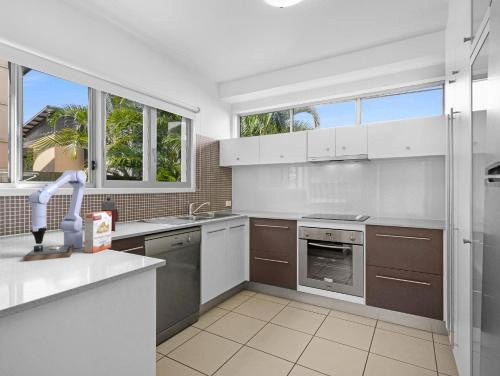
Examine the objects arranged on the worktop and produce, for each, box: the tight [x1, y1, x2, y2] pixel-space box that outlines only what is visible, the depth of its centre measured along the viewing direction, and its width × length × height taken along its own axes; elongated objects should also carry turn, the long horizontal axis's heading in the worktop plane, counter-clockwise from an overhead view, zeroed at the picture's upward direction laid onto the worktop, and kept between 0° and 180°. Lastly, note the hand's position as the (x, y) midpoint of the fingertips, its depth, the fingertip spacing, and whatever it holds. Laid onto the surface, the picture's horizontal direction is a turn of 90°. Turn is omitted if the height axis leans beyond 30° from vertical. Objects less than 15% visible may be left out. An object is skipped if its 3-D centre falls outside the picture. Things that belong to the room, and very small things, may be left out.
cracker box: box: [83, 210, 112, 254], centre depth 151 cm, size 14×6×21 cm, turn 168°
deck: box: [28, 244, 71, 256], centre depth 139 cm, size 15×13×3 cm
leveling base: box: [23, 245, 75, 262], centre depth 139 cm, size 18×16×3 cm
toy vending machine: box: [101, 194, 119, 232], centre depth 212 cm, size 9×11×28 cm
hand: (39, 243), depth 137 cm, fingers closed
